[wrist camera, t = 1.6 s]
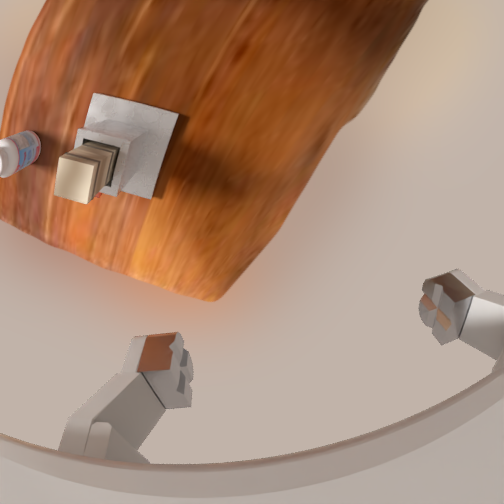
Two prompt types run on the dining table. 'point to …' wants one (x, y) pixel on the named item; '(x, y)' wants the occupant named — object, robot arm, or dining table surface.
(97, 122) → the sleeve
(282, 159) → the dining table surface
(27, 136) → the pill bottle
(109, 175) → the post
